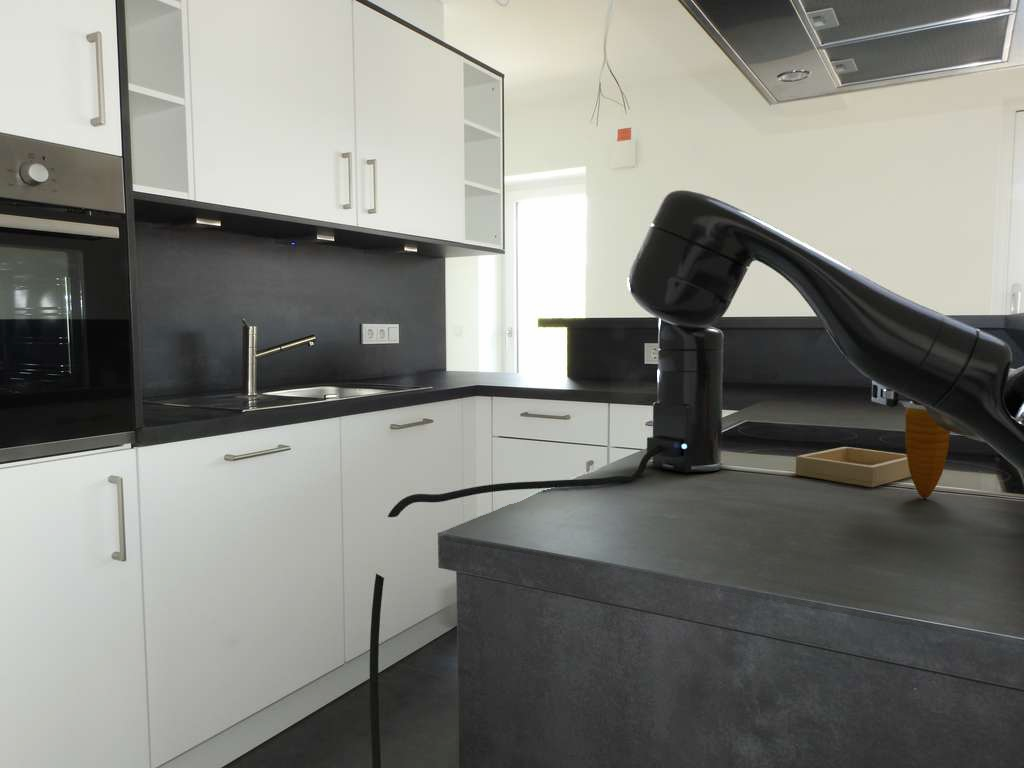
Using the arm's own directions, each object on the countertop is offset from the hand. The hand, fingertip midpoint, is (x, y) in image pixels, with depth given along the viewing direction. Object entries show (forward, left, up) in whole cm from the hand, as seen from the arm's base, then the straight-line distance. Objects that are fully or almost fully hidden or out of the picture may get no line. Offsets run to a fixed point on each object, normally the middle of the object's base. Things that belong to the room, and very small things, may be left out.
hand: (922, 388), depth 87 cm
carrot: (-2, -1, -13) cm, 13 cm away
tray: (+6, +11, -13) cm, 18 cm away
